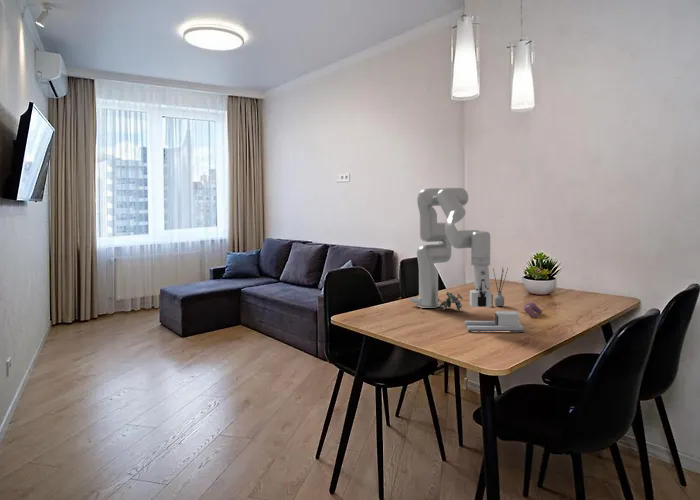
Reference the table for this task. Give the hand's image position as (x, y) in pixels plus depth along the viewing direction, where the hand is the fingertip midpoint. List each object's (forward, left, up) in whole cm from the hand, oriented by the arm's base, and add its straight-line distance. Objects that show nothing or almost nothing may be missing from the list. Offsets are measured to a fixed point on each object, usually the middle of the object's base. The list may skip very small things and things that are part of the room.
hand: (480, 304), depth 186 cm
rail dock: (+5, 0, -11) cm, 12 cm away
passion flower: (-9, +30, -11) cm, 33 cm away
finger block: (0, 0, -1) cm, 1 cm away
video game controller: (+28, +24, -11) cm, 38 cm away
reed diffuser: (+16, +39, -11) cm, 44 cm away
